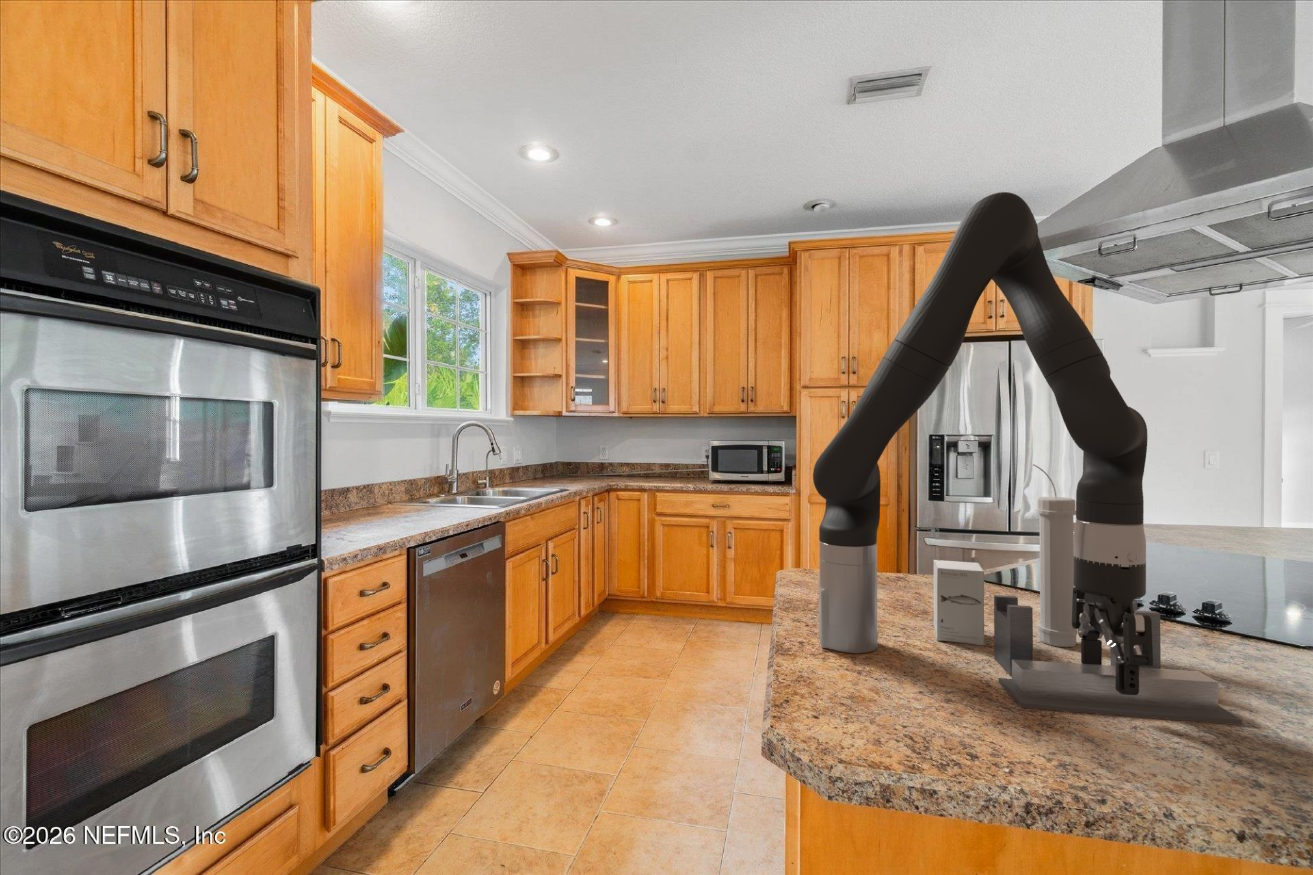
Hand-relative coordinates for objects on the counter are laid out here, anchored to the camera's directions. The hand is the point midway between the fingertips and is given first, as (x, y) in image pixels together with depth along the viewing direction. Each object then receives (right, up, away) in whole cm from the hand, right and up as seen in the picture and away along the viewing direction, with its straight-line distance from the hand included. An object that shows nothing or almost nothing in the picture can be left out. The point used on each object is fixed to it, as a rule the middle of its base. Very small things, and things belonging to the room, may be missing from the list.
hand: (1108, 679), depth 77 cm
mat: (0, -3, 0) cm, 3 cm away
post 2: (+10, -3, +8) cm, 13 cm away
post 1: (-6, -3, +11) cm, 13 cm away
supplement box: (-7, -3, +25) cm, 26 cm away
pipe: (+8, -3, +22) cm, 23 cm away
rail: (0, -2, 0) cm, 2 cm away
